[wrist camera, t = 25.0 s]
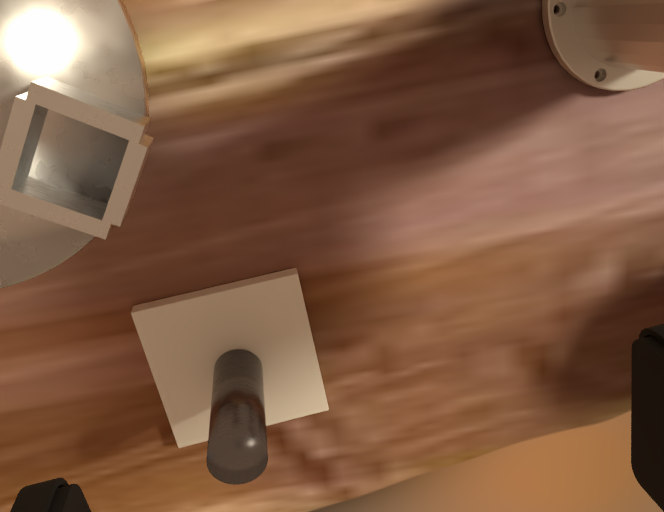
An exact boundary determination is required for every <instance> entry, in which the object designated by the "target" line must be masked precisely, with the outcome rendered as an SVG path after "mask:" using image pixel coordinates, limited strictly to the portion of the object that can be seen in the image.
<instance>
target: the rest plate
mask: <svg viewBox="0 0 664 512" xmlns="http://www.w3.org/2000/svg"><path fill="white" fill-rule="evenodd" d="M131 315H132V318H133V321H134V324H135V327H136V329H137V332H138V335H139V338H140V341H141V344H142V346H143V349H144V352H145V355H146V358H147V361H148V363H149V366H150V369H151V372H152V375H153V377H154V380H155V383H156V386H157V389H158V392H159V394H160V397H161V400H162V403H163V406H164V409H165V411H166V414H167V417H168V420H169V423H170V425H171V428H172V431H173V434H174V437H175V440H176V442H177V445H178V448H181V447H185V446H189V445H193V444H197V443H201V442H205V441H208V437H209V425H210V412H211V399H212V386H213V374H214V365H215V363H216V361H217V359H218V358H219V357H220V356H221V355H222V354H224V353H225V352H227V351H230V350H234V349H244V350H248V351H250V352H252V353H254V354H255V355H256V356H257V357H258V358H259V359H260V361H261V363H262V369H263V386H264V402H265V419H266V426H267V425H271V424H275V423H279V422H283V421H287V420H291V419H295V418H299V417H303V416H307V415H311V414H315V413H319V412H322V411H326V410H329V408H328V403H327V399H326V395H325V390H324V386H323V381H322V377H321V373H320V368H319V364H318V360H317V355H316V351H315V346H314V342H313V338H312V333H311V329H310V324H309V320H308V316H307V311H306V307H305V303H304V298H303V294H302V289H301V285H300V281H299V276H298V272H297V268H292V269H287V270H283V271H279V272H275V273H270V274H266V275H262V276H258V277H253V278H249V279H245V280H241V281H236V282H232V283H228V284H224V285H219V286H215V287H211V288H207V289H202V290H198V291H194V292H190V293H185V294H181V295H177V296H173V297H168V298H164V299H160V300H156V301H151V302H147V303H143V304H139V305H134V306H133V308H132V311H131Z"/></svg>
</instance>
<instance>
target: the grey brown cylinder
mask: <svg viewBox="0 0 664 512" xmlns="http://www.w3.org/2000/svg"><path fill="white" fill-rule="evenodd" d="M267 462H268V453H267V436H266V419H265V402H264V386H263V369H262V363H261V361H260V359H259V358H258V357H257V356H256V355H255V354H254V353H252V352H250V351H248V350H244V349H234V350H230V351H227V352H225V353H224V354H222V355H221V356H220V357H219V358H218V359H217V361H216V363H215V365H214V374H213V386H212V399H211V412H210V425H209V437H208V450H207V467H208V469H209V471H210V473H211V474H212V475H213V476H214V477H215V478H216V479H218V480H219V481H221V482H224V483H228V484H243V483H247V482H250V481H252V480H254V479H256V478H257V477H258V476H260V475H261V474H262V472H263V471H264V470H265V468H266V466H267Z"/></svg>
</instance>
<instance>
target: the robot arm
mask: <svg viewBox="0 0 664 512" xmlns="http://www.w3.org/2000/svg"><path fill="white" fill-rule="evenodd" d="M554 7H556V12H555V13H554ZM542 18H543V24H544V29H545V35H546V37H547V40H548V43H549V45H550V48H551V50H552V52H553V54H554V55H555V57H556V58H557V60H558V62H559V63H560V65H561V66H562V67H563V68H564V69H565V70H566V71H567V72H568V73H569V74H570V75H571V76H573V77H574V78H576V79H578V80H579V81H581V82H582V83H584V84H587V85H590V86H593V87H596V88H599V89H605V90H611V91H630V90H634V89H639V88H643V87H646V86H649V85H651V84H653V83H656V82H658V81H660V80H662V79H663V78H664V0H542ZM595 73H596V76H595ZM594 76H595V77H594ZM631 418H632V420H631V421H632V422H631V426H632V427H631V429H632V430H631V464H632V469H633V472H634V475H635V477H636V479H637V481H638V483H639V484H640V485H641V487H642V488H643V489H644V490H645V491H646V492H647V493H648V494H649V496H651V498H652V499H653V500H654V501H655V502H656V503H657V504H658V506H659V507H660V508H661V509H662V510H663V511H664V324H661V325H657V326H653V327H650V328H646V329H644V330H642V331H641V333H640V335H639V339H638V340H635V341H634V342H633V344H632V414H631ZM10 512H91V510H90V508H89V506H88V503H87V501H86V499H85V497H84V494H83V492H82V490H81V488H80V487H79V486H78V485H77V484H71V485H69V484H68V483H67V481H66V480H65V479H63V478H57V479H53V480H49V481H45V482H41V483H37V484H33V485H29V486H25V487H24V488H22V489H21V490H20V492H19V494H18V496H17V498H16V500H15V502H14V505H13V507H12V509H11V511H10Z"/></svg>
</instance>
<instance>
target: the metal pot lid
mask: <svg viewBox="0 0 664 512" xmlns="http://www.w3.org/2000/svg"><path fill="white" fill-rule="evenodd" d="M150 121H151V118H149V106H148V84H147V77H146V70H145V62H144V59H143V55H142V51H141V48H140V44H139V40H138V37H137V33H136V31H135V28H134V26H133V23H132V21H131V19H130V16H129V14H128V11H127V9H126V6H125V4H124V3H123V1H122V0H0V288H3V287H8V286H11V285H14V284H17V283H20V282H23V281H26V280H29V279H32V278H34V277H36V276H38V275H40V274H42V273H44V272H46V271H48V270H51V269H53V268H55V267H57V266H58V265H59V264H61V263H62V262H64V261H65V260H67V259H68V258H70V257H71V256H73V255H74V254H76V253H77V252H78V251H79V250H81V249H82V248H83V247H84V246H85V245H86V244H87V243H88V242H89V241H91V240H92V239H93V238H94V237H95V236H96V237H99V238H102V239H105V240H106V238H107V236H108V235H109V233H110V231H111V229H112V228H113V226H114V225H116V226H119V227H120V226H121V224H122V222H123V220H124V219H125V217H126V215H127V213H128V211H129V208H130V205H131V202H132V200H133V197H134V194H135V191H136V188H137V185H138V182H139V180H140V177H141V174H142V171H143V168H144V165H145V162H146V160H147V157H148V154H149V151H150V148H151V145H152V143H153V140H154V137H151V136H148V135H146V133H147V129H148V126H149V124H150Z"/></svg>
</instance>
